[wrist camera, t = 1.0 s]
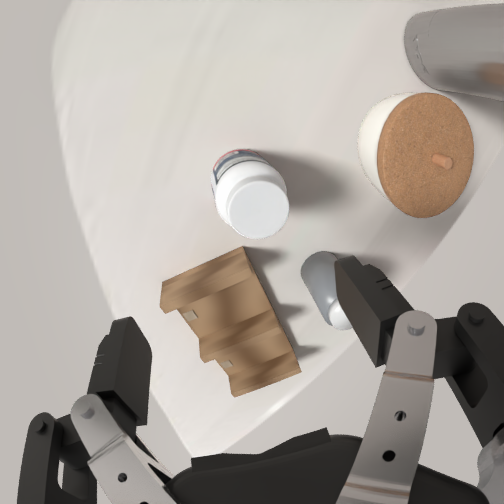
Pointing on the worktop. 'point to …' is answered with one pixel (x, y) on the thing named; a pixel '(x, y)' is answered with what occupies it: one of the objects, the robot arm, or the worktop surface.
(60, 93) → the worktop surface
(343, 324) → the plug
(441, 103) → the lidded jar
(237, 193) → the pill bottle
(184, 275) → the rack
